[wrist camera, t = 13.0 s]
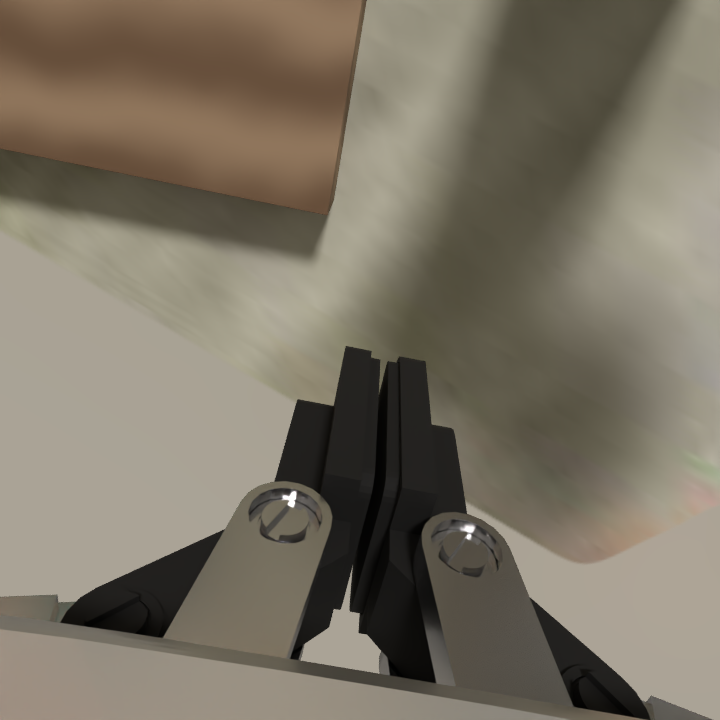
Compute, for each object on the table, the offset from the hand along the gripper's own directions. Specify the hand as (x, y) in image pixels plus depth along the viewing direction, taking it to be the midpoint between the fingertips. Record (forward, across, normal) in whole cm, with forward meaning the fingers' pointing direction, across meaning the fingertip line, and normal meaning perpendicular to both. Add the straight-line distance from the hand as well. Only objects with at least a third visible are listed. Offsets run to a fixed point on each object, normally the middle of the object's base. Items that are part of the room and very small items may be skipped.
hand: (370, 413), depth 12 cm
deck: (+27, +14, -4) cm, 31 cm away
